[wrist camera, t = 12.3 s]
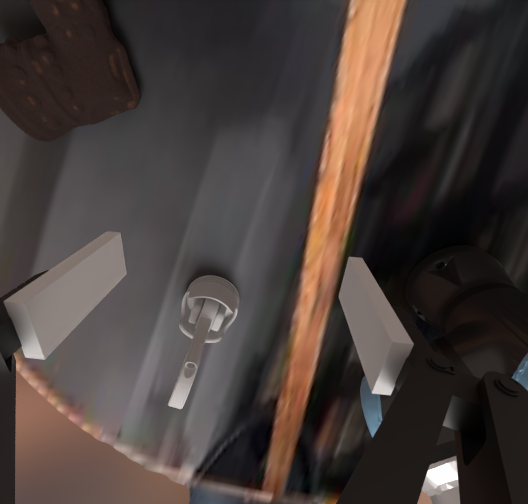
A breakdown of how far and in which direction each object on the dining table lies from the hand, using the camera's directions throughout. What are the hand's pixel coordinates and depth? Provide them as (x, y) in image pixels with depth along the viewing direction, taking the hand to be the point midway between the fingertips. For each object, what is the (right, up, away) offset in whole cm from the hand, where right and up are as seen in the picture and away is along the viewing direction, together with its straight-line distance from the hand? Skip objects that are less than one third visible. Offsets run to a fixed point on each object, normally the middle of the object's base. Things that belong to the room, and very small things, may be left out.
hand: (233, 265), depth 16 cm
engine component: (-8, -8, +36) cm, 38 cm away
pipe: (-22, +26, +20) cm, 40 cm away
